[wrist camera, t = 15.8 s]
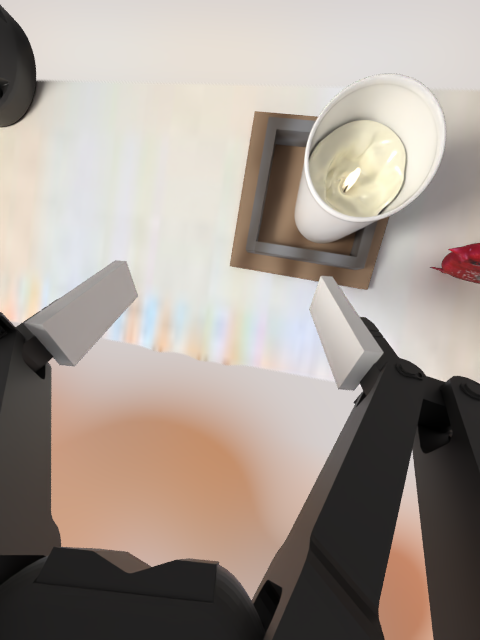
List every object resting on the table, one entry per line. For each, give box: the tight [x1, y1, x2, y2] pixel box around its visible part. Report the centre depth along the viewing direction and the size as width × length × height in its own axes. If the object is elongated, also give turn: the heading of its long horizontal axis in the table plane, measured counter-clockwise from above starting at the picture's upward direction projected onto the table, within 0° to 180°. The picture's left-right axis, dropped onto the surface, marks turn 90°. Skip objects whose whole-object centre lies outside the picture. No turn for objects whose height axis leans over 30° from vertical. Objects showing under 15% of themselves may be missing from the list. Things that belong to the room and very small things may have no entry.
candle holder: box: [294, 74, 446, 244], centre depth 20 cm, size 10×10×12 cm
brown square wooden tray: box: [230, 111, 389, 289], centre depth 25 cm, size 20×20×4 cm
